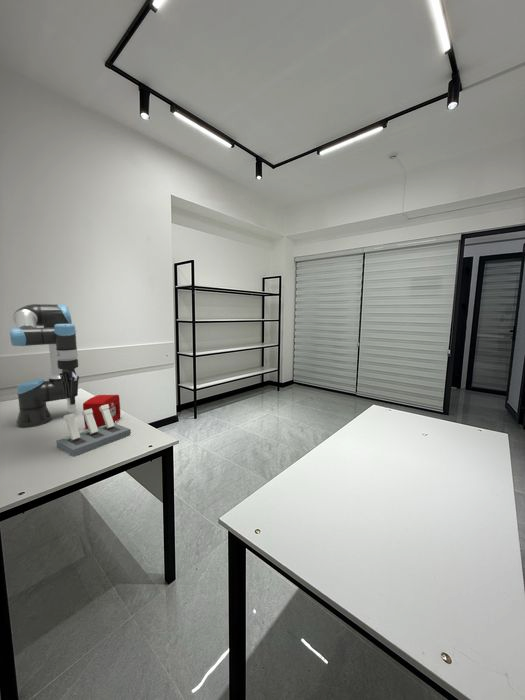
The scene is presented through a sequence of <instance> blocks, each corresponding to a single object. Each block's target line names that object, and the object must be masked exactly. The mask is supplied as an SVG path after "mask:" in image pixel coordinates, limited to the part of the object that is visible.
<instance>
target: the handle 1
mask: <svg viewBox="0 0 525 700" xmlns="http://www.w3.org/2000/svg"><path fill="white" fill-rule="evenodd" d="M92 413H93V411H92V408H91V409H87V410H84V411H83V410H82V411H81V415H82V416H83V418H84V417H85V420H86V423H87V426H88V429H87V430H89V432H90V434H93V433H96V432H98V428H97V425H96V422H95V420H94V417H93V414H92Z"/></svg>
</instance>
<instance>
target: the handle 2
mask: <svg viewBox="0 0 525 700" xmlns="http://www.w3.org/2000/svg"><path fill="white" fill-rule="evenodd" d="M99 409H100V411H101V412H102V415H103V418H104V421H105V424H106V426H107V429H108V428H111V427H114V426H115V425H114V423H115V422H113V419H112V416H111V414H110V411H109V405H108V404H106V405H102V406H100V407H99Z"/></svg>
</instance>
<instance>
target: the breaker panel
mask: <svg viewBox="0 0 525 700" xmlns="http://www.w3.org/2000/svg"><path fill="white" fill-rule="evenodd" d="M114 425H115V426H114V427H111V428H108V429H107V426H106V425H103V426H100V427H97V428H98V432H96V433H93V434H90V432H89V429H87V430H85V431H83V432H79V434H80V438H78V439H75V440H71V436H70V435H69V436H67V437H64V438H61V439H60V438H59V439H57V440H56V442H55V444H56V448H58V449H60V450H61V449H62V451H64V452H65V453H67V454H68V453H69V455H70V456H72V457H77V456H80V455H82V454H84V452H85V453H87V452H90V451H93V450H96V449H98V448H100V446H101V447H103V446H105V445H108V444H111V443H114V442H117V441H120V440H121V438H122V439H124V438H127V437H129V436H128V435H130V434H131V435H132V432H131V428H129V427H126V426H123V425H120V424H118V423H116V422H114ZM131 435H130V436H131ZM126 436H127V437H126ZM123 437H124V438H123ZM113 441H114V442H113ZM76 455H77V456H76Z"/></svg>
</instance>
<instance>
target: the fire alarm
mask: <svg viewBox="0 0 525 700" xmlns="http://www.w3.org/2000/svg"><path fill="white" fill-rule="evenodd" d="M106 404H108V405H109V411H110V414H111V416H112V419H113V422H114V423H116V422H117V421H119V420H120V419H121V401H120V395H119V394H99V395H94V396H92V397H91V398H89V399H87V400H86V401H85V402H83V403H82V411H84V410H87V409H91V408H92V411H93V413H92V414H93V417H94V420H95V422H96V425H97V427H100V426H103V425H106V424H105V421H104V418H103V415H102V412H101V411H100V409H99V407H100V406H102V405H106ZM119 418H120V419H119ZM118 419H119V420H118ZM83 420H84V426H85V427H84V428H85V430H89V429H88V426H87V423H86V420H85V417H84V416H83ZM116 420H117V421H116ZM115 421H116V422H115Z"/></svg>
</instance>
